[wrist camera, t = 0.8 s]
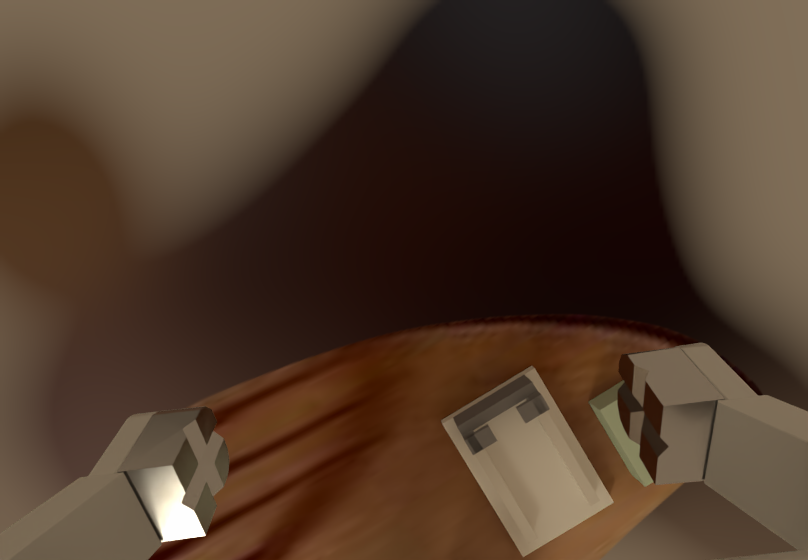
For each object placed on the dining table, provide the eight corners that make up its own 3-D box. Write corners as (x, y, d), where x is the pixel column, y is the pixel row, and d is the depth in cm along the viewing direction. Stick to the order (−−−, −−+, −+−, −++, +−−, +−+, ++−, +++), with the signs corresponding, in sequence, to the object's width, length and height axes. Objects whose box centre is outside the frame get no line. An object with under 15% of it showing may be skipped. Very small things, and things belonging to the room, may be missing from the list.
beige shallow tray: (609, 497, 60) (633, 523, 54) (520, 551, 60) (534, 583, 54) (531, 365, 58) (547, 378, 53) (440, 420, 58) (447, 438, 53)
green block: (666, 450, 60) (684, 462, 56) (630, 473, 60) (645, 486, 56) (624, 378, 59) (639, 386, 56) (587, 401, 59) (599, 410, 56)
